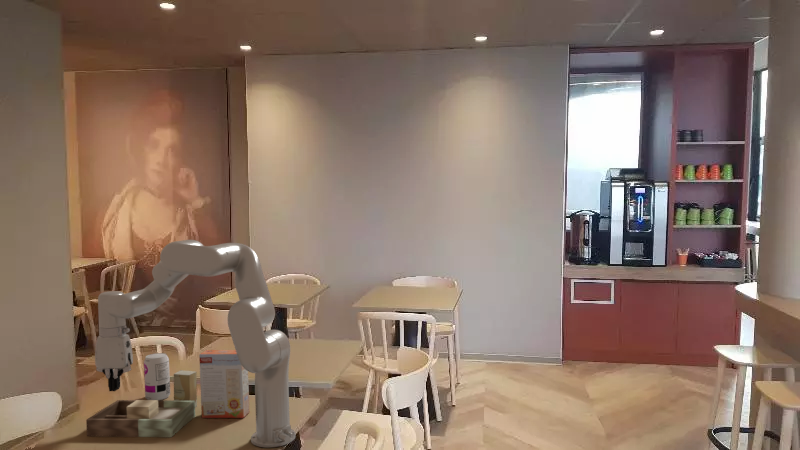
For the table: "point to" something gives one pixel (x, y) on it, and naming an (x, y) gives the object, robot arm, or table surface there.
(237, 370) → the cracker box
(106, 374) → the robot arm
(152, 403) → the maple block
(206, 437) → the table surface
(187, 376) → the skincare box
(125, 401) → the track
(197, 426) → the table surface
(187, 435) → the table surface
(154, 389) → the supplement can
